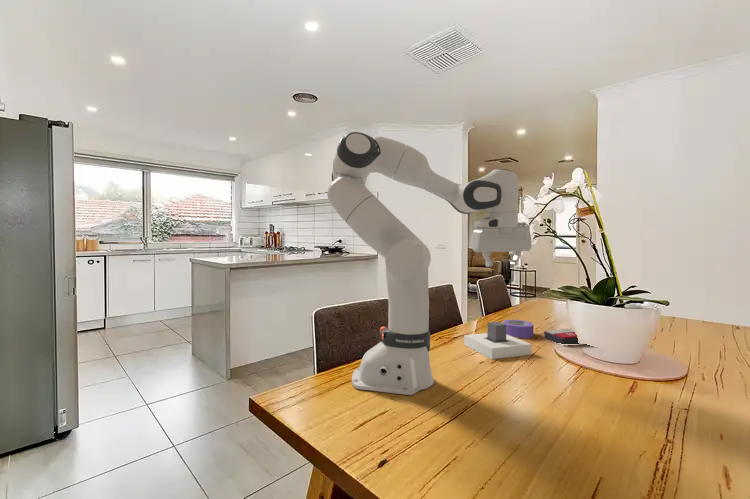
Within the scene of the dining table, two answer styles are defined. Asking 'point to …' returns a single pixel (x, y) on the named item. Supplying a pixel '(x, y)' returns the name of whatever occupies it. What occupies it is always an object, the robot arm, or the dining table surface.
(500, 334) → the plug
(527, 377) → the dining table surface
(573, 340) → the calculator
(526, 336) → the tape roll
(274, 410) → the dining table surface
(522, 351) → the socket
